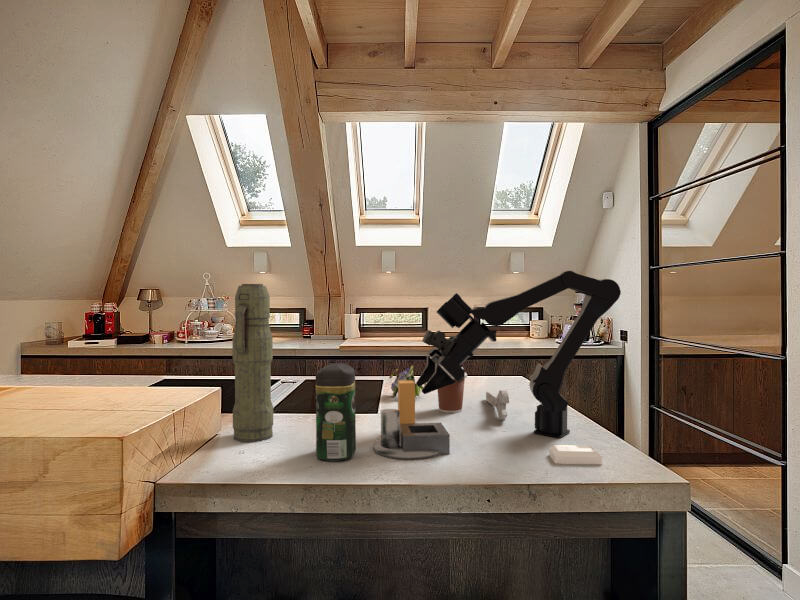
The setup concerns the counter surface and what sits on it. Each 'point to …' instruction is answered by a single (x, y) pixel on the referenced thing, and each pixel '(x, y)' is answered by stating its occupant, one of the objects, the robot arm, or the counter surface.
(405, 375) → the passion flower
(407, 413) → the wooden block
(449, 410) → the coffee cup
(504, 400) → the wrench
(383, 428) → the desk organizer stand
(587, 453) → the soap bar
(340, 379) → the coffee jar
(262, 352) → the thermos
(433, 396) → the counter surface
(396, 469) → the counter surface
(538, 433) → the robot arm
